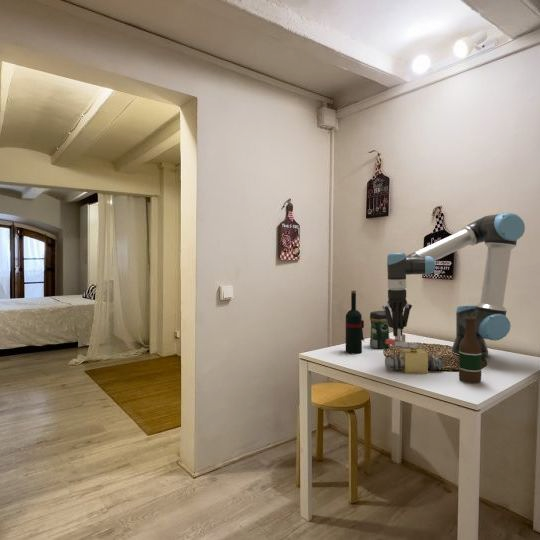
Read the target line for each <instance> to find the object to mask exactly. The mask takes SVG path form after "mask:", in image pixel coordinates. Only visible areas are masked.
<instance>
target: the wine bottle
mask: <svg viewBox="0 0 540 540" xmlns="http://www.w3.org/2000/svg"><path fill="white" fill-rule="evenodd" d="M350 295H351V297H350V300H351V301H350V303H351V306H350V310H348V311H347V313H346V314H345V353H347V354H351V355H360V354H362V352H363V342H364V343H366V342H365V338H364V332H363V329H364V327H365V324H364V323H365V321H364V320H363V318H362V313H361V312H360V311H358V309H357V290H351V294H350Z"/></svg>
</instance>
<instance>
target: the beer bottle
mask: <svg viewBox="0 0 540 540" xmlns="http://www.w3.org/2000/svg"><path fill="white" fill-rule="evenodd" d="M465 320H466V326H465V336H464V338H463V340H462V341H461V343H460V345H459V356H458V378H459V381H461V382H462V383H463V382H464V383H466V384H479V383H481V382H482V359H483V358H482V352H481V346H480V344H479V342H478V341H477V339H476V328H475V321H476V318H475V317H466V318H465Z"/></svg>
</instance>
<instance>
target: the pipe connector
mask: <svg viewBox="0 0 540 540" xmlns="http://www.w3.org/2000/svg"><path fill="white" fill-rule="evenodd" d="M401 341H403V342H406V334H405V333H402V336H401ZM391 346H392V348H400V349H409V348H408V347H403V346H398V345H391Z"/></svg>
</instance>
